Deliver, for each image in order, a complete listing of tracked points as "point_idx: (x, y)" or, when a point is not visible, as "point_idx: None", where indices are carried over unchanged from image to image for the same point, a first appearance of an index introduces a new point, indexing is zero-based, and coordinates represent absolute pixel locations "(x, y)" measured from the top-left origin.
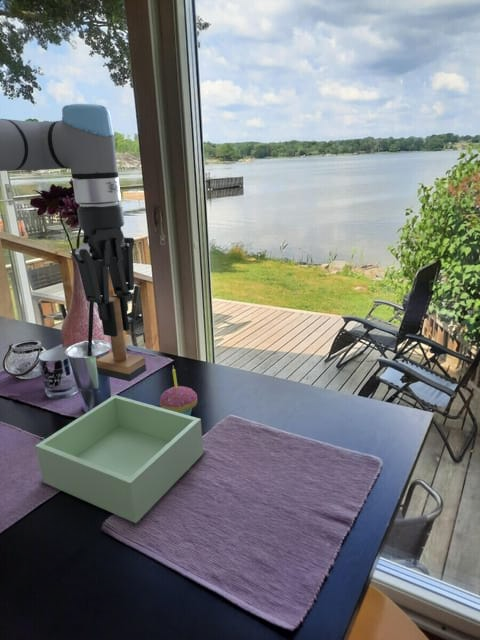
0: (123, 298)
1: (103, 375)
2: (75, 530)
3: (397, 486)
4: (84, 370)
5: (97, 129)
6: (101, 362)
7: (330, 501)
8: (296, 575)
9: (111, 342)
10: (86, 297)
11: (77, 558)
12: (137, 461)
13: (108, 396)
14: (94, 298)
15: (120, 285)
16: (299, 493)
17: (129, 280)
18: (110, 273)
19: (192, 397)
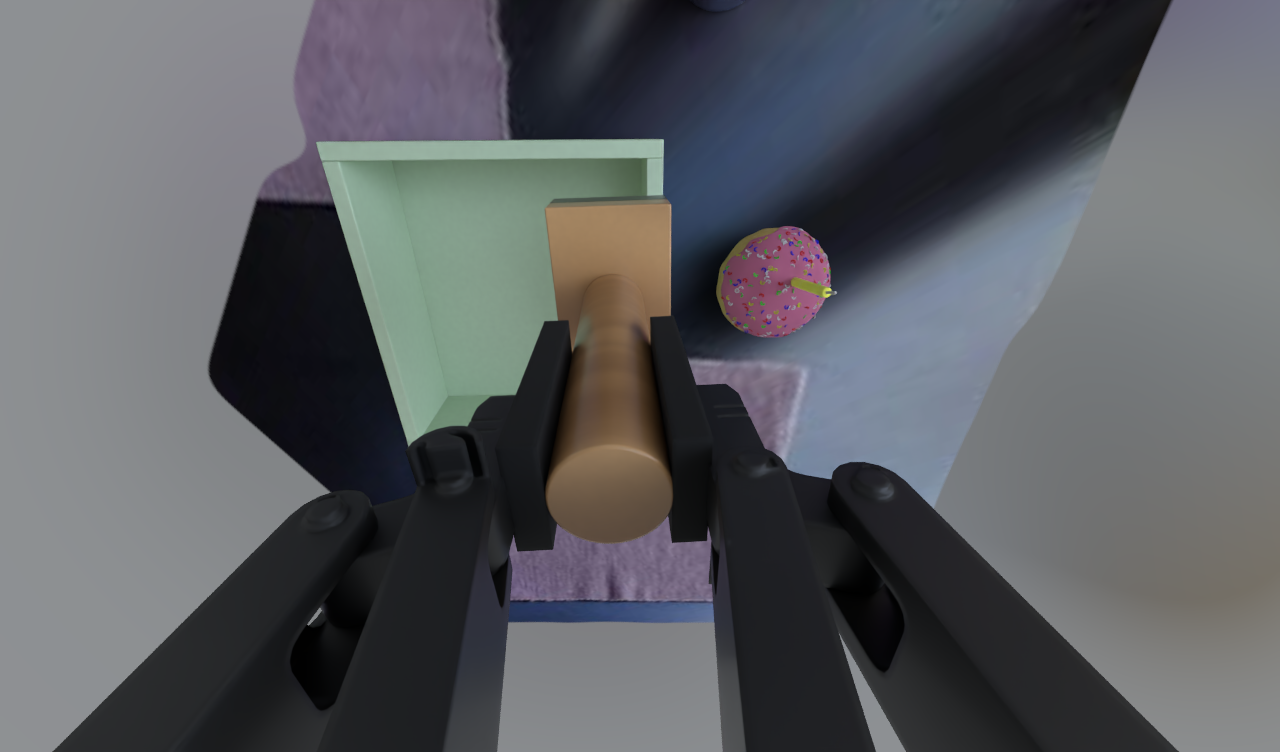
0: (681, 538)
1: None
2: (362, 324)
3: (702, 619)
4: None
5: None
6: (549, 244)
7: (638, 576)
8: (511, 581)
9: (579, 322)
10: (272, 542)
11: (336, 370)
12: (552, 307)
13: (738, 2)
14: (317, 620)
15: (718, 625)
16: (633, 546)
17: (858, 658)
18: (743, 725)
19: (777, 334)
